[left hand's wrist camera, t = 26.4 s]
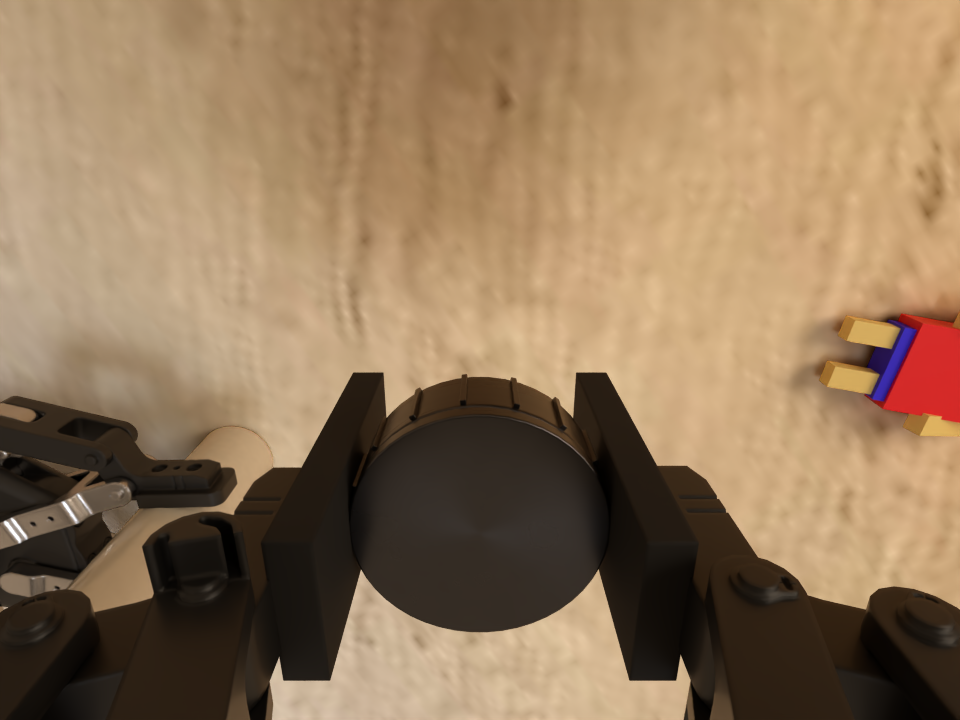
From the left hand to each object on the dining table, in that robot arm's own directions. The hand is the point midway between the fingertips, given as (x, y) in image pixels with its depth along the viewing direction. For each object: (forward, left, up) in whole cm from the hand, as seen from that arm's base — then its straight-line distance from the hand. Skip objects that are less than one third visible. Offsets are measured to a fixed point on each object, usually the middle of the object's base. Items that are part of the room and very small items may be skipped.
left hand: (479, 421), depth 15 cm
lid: (0, 0, +4) cm, 4 cm away
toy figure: (-1, +25, -16) cm, 30 cm away
